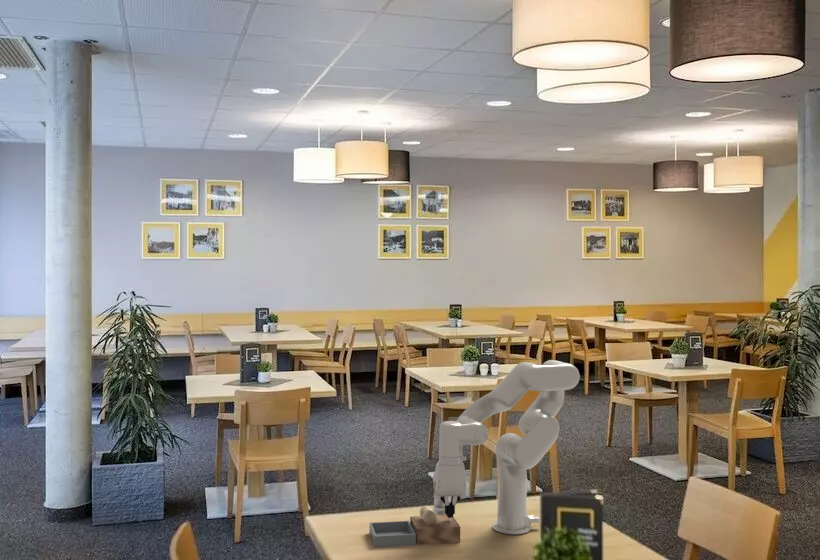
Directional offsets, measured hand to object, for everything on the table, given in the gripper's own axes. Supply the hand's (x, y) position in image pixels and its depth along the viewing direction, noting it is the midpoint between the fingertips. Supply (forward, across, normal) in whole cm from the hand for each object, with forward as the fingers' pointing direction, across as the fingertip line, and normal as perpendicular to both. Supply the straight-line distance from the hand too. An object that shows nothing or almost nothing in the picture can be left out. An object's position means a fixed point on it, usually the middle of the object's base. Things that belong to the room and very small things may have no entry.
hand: (449, 516), depth 264 cm
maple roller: (+1, +6, 0) cm, 6 cm away
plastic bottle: (+7, -1, -16) cm, 17 cm away
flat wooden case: (+6, +5, 0) cm, 8 cm away
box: (+7, +19, 0) cm, 20 cm away
